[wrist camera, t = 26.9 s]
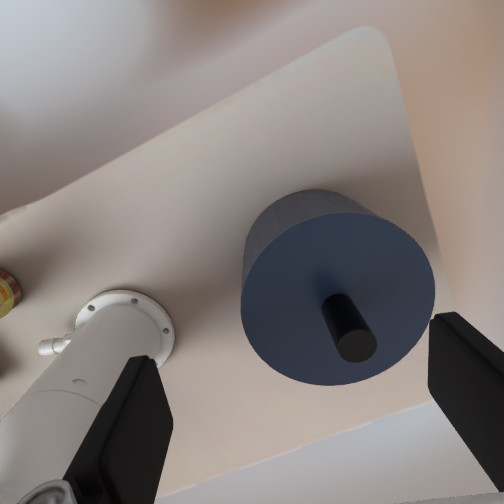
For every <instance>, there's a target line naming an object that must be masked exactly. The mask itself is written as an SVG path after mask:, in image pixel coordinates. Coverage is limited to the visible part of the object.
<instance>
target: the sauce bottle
mask: <svg viewBox="0 0 504 504" xmlns="http://www.w3.org/2000/svg"><path fill="white" fill-rule="evenodd" d="M20 299H21V289H20V287H19V284H18V283H17V282H16V280H15V279H14V278H13V277H12V276H11V275H10V274H8V273H7V272H5V271H2V270H0V319H1V318H2V317H4V316H5V315H7V314H8V313H9V312H10V311H11V310H12V309H13V308H14V307H16V305H18V303H19V302H20Z"/></svg>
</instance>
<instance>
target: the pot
mask: <svg viewBox="0 0 504 504" xmlns="http://www.w3.org/2000/svg"><path fill="white" fill-rule="evenodd" d="M341 211H344V212H359V213H365V214H370V215H373V216H377V215H375V214H373V213H372V212H370V211H369V210H367V209H365V208H364V207H362V206H361V205H359V204H357V203H356V202H354V201H352V200H350V199H348V198H346V197H344V196H342V195H340V194H338V193H334V192H330V191H324V190H306V191H300V192H296V193H293V194H290V195H287V196H285V197H283V198H281V199H279V200H277V201H276V202H274V203H273V204H271V205H270V206H269V207H268V208H267V209H265V210H264V211H263V212H262V213H261V215H260V216H259V217H258V218H257V219H256V221H255V223H254V224H253V226H252V227H251V230H250V232H249V234H248V236H247V238H246V243H245V250H244V257H243V276H242V289H243V284H244V281H245V278H246V275H247V273H248V271H249V269H250V267H251V264H252V263H253V261H254V260H255V258H256V257H257V255H258V254H259V252H260V251H261V250H262V249H263V248H264V247H265V246H266V244H267V243H268V242H270V241H271V240H272V239H273V238H274V237H275V236H276V235H278V234H279V233H280V232H282V231H283V230H285V229H286V228H288V227H290V226H291V225H293V224H295V223H297V222H299V221H301V220H304V219H307V218H310V217H312V216H316V215H320V214H324V213H331V212H341ZM377 217H378V216H377Z"/></svg>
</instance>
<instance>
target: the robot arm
mask: <svg viewBox="0 0 504 504" xmlns="http://www.w3.org/2000/svg"><path fill="white" fill-rule="evenodd" d="M174 340H175V332H174V327H173V324H172V321H171V319H170V317H169V315H168V314H167V313H166V311H165V310H164V309H163V308H162V307H161V306H160V305H159V304H158V303H157V302H155V301H154V300H152V299H151V298H149V297H147V296H145V295H143V294H141V293H137V292H133V291H128V290H112V291H108V292H104V293H101V294H99V295H97V296H95V297H94V298H92V299H91V300H90V301H88V302H87V303H86V305H85V306H84V307H83V308H82V309H81V311H80V312H79V314H78V316H77V319H76V321H75V329H74V332H73V333H69V334H66V335H65V336H64V337H63V338H53V339H47V340H42V341H41V342H40V343H39V347H38V350H39V353H40V354H41V355H43V356H45V355H52V354H58V353H60V352H61V353H60V354H59V355H58V356H57V357H56V358H55V359H54V361H53V362H52V363H51V364H50V365H49V366H48V368H47V369H46V370H45V371H44V372H43V373H42V374H41V376H40V377H39V378H38V379H37V380H36V381H35V383H34V384H33V385H32V386H31V387H30V388H29V389H28V391H27V392H26V393H25V394H24V395H23V396H22V398H21V399H20V400H19V401H18V402H17V403H16V404H15V406H14V407H13V408H12V409H11V410H10V411H9V413H8V414H7V415H6V416H5V417H4V419H3V420H2V421H1V423H0V504H154V501H155V497H156V493H157V489H158V485H159V481H160V477H161V473H162V470H163V466H164V462H165V458H166V454H167V450H168V446H169V442H170V438H171V435H172V431H173V417H172V414H171V411H170V407H169V404H168V401H167V398H166V394H165V391H164V388H163V385H162V382H161V378H160V375H159V372H158V368H159V367H161V366H162V365H163V364H164V363H165V362H166V360H167V359H168V357H169V356H170V354H171V351H172V349H173V345H174ZM428 388H429V391H430V394H431V395H432V397H433V398H434V400H435V401H436V403H437V404H438V405H439V407H440V408H441V410H442V411H443V413H444V414H445V415H446V417H447V418H448V420H449V421H450V422H451V424H452V425H453V427H454V428H455V430H456V431H457V432H458V434H459V435H460V437H461V438H462V439H463V441H464V442H465V444H466V445H467V447H468V448H469V449H470V451H471V452H472V453H473V455H474V456H475V458H476V459H477V461H478V462H479V464H480V465H481V466H482V468H483V469H484V471H485V472H486V473H487V475H488V476H489V478H490V479H491V481H492V482H493V483H494V485H495V486H496V488H497V489H498V490H499V492H498V493H487V494H477V495H468V496H459V497H450V498H441V499H432V500H423V501H414V502H405V503H396V504H504V352H502V350H500V349H499V348H498V347H497V346H496V345H494V344H493V343H492V342H491V341H490V340H488V339H487V338H486V337H485V336H484V335H483V334H481V333H480V332H479V331H478V330H477V329H476V328H474V327H473V326H472V325H471V324H470V323H468V322H467V321H466V320H465V319H464V318H463V317H461V316H460V315H459V314H458V313H456V312H447V313H440V314H436V315H435V316H434V319H431V320H430V323H429V355H428Z"/></svg>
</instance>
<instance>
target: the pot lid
mask: <svg viewBox="0 0 504 504" xmlns="http://www.w3.org/2000/svg"><path fill="white" fill-rule="evenodd" d="M434 299H435V282H434V277H433V272H432V269H431V266H430V263H429V261H428V259H427V257H426V255H425V253H424V252H423V250H422V248H421V247H420V246H419V245H418V244H417V242H416V241H415V240H414V239H413V238H412V237H411V236H410V235H409V234H407V233H406V232H405V231H404V230H402V229H401V228H399V227H398V226H396V225H395V224H393V223H391V222H389V221H387V220H385V219H382V218H380V217H377V216H373V215H370V214H365V213H359V212H344V211H341V212H331V213H324V214H320V215H316V216H312V217H310V218H307V219H304V220H301V221H299V222H297V223H295V224H293V225H291V226H290V227H288V228H286V229H285V230H283V231H282V232H280V233H279V234H278V235H276V236H275V237H274V238H273V239H272V240H271V241H270V242H268V243H267V244H266V246H265V247H264V248H263V249H262V250H261V251H260V252H259V254H258V255H257V257H256V258H255V260H254V261H253V263H252V264H251V267H250V269H249V271H248V273H247V275H246V278H245V281H244V284H243V289H242V294H241V318H242V324H243V327H244V331H245V334H246V336H247V338H248V340H249V342H250V344H251V346H252V347H253V349H254V350H255V352H256V353H257V354H258V355H259V356H260V357H261V359H262V360H263V361H264V362H266V363H267V364H268V365H269V366H270V367H272V368H273V369H274V370H276V371H277V372H279V373H281V374H283V375H285V376H287V377H289V378H291V379H294V380H297V381H300V382H304V383H308V384H314V385H325V386H334V385H345V384H350V383H355V382H359V381H362V380H365V379H368V378H371V377H373V376H375V375H378V374H380V373H381V372H383V371H385V370H387V369H389V368H390V367H392V366H393V365H394V364H396V363H397V362H399V361H400V360H401V359H402V358H403V357H404V356H405V355H407V354H408V352H409V351H410V350H411V349H412V348H413V347H414V346H415V345H416V343H417V342H418V341H419V339H420V338H421V336H422V335H423V333H424V331H425V329H426V327H427V325H428V323H429V320H430V318H431V315H432V311H433V307H434Z"/></svg>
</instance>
